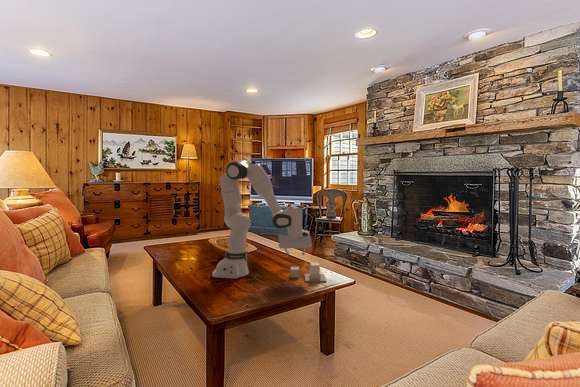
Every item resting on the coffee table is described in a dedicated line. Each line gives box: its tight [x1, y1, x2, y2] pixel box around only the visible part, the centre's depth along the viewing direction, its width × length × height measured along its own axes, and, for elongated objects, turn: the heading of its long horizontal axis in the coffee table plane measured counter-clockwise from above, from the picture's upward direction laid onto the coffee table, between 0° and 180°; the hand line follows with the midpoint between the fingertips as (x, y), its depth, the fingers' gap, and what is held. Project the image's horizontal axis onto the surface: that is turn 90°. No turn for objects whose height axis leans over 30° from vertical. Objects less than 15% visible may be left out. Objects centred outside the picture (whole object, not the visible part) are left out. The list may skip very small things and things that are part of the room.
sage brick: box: [290, 266, 300, 278], centre depth 189 cm, size 5×5×5 cm
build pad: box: [303, 270, 327, 283], centre depth 184 cm, size 12×12×4 cm
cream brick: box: [310, 262, 321, 274], centre depth 184 cm, size 5×5×5 cm
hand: (295, 255), depth 189 cm, fingers open, 8 cm apart
